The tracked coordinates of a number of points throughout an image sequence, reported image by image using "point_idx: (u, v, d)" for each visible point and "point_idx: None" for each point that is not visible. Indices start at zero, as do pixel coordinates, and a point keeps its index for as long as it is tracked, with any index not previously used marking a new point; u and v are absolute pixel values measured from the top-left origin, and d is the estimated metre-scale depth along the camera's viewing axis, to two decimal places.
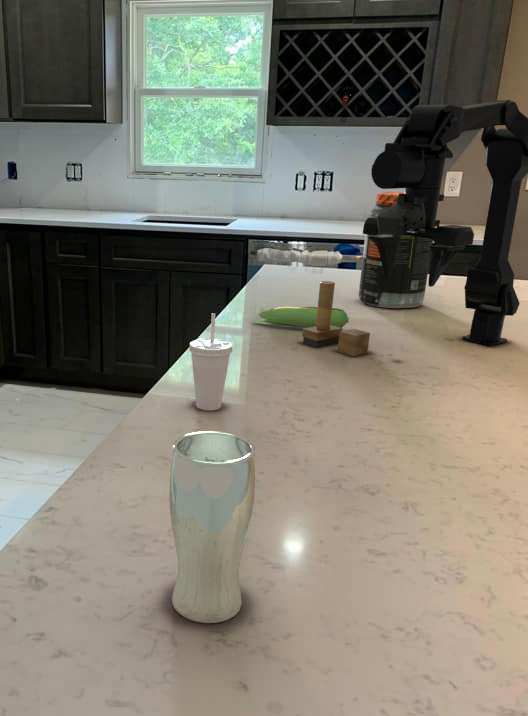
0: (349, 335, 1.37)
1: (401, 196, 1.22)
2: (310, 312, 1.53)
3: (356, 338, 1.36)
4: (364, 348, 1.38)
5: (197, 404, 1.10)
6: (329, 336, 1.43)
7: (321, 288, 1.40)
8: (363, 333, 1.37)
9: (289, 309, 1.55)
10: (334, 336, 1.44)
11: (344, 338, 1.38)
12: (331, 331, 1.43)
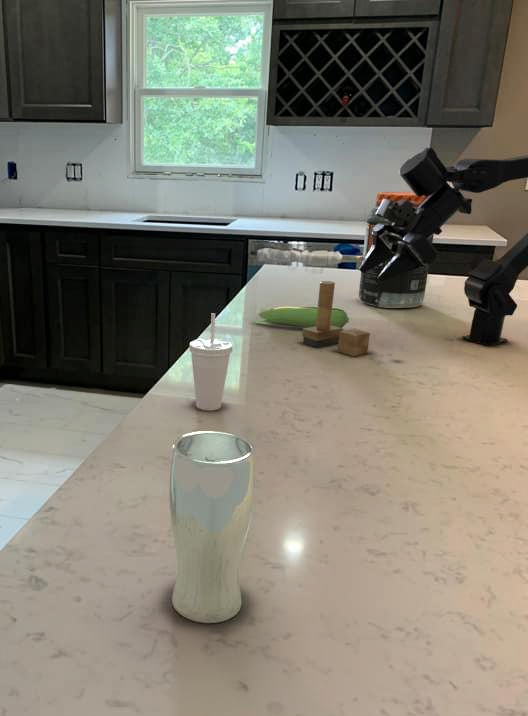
0: (349, 335, 1.37)
1: (412, 207, 1.38)
2: (310, 312, 1.53)
3: (356, 338, 1.36)
4: (364, 348, 1.38)
5: (197, 404, 1.10)
6: (329, 336, 1.43)
7: (321, 288, 1.40)
8: (363, 333, 1.37)
9: (289, 309, 1.55)
10: (334, 336, 1.44)
11: (344, 338, 1.38)
12: (331, 331, 1.43)
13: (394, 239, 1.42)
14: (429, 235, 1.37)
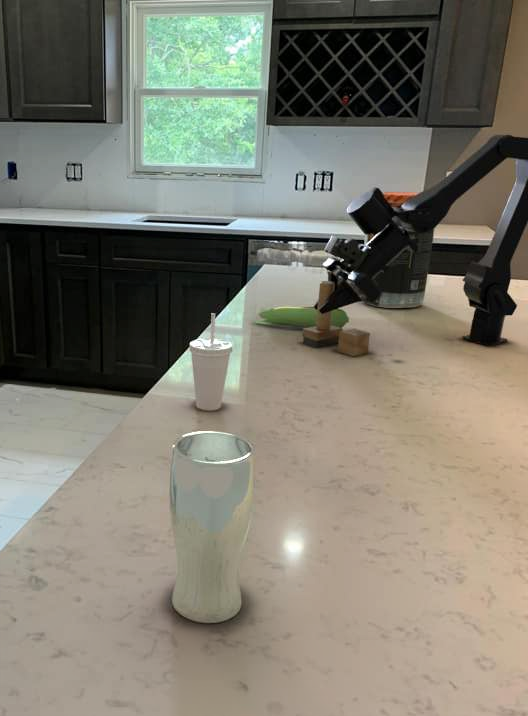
0: (349, 335, 1.37)
1: (361, 245, 1.40)
2: (310, 312, 1.53)
3: (356, 338, 1.36)
4: (364, 348, 1.38)
5: (197, 404, 1.10)
6: (329, 336, 1.43)
7: (321, 288, 1.40)
8: (363, 333, 1.37)
9: (289, 309, 1.55)
10: (334, 336, 1.44)
11: (344, 338, 1.38)
12: (331, 331, 1.43)
13: None
14: (376, 273, 1.39)
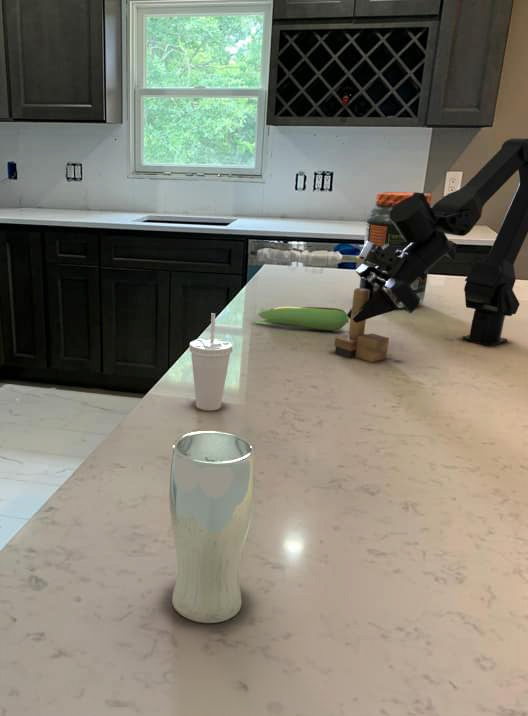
0: (367, 340, 1.33)
1: (397, 250, 1.34)
2: (310, 312, 1.53)
3: (374, 343, 1.32)
4: (383, 353, 1.35)
5: (197, 404, 1.10)
6: None
7: (355, 296, 1.34)
8: (382, 338, 1.34)
9: (289, 309, 1.55)
10: None
11: (362, 343, 1.34)
12: None
13: (384, 285, 1.35)
14: (413, 280, 1.32)
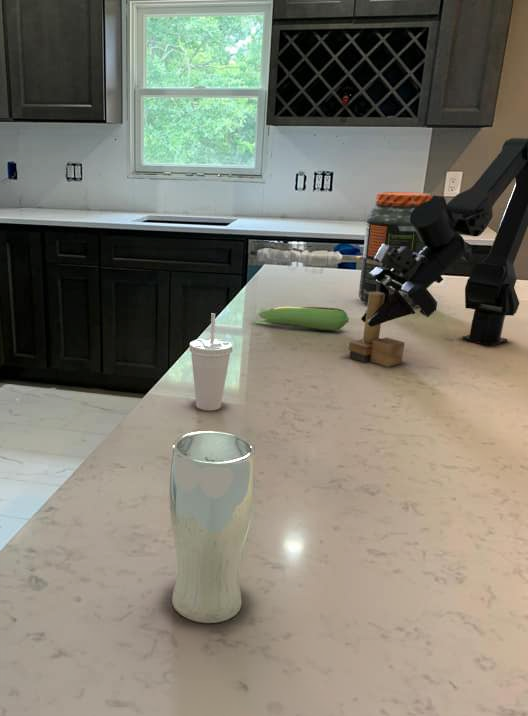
0: (383, 345, 1.31)
1: (413, 253, 1.31)
2: (310, 312, 1.53)
3: (390, 347, 1.30)
4: (398, 358, 1.32)
5: (197, 404, 1.10)
6: None
7: (370, 299, 1.32)
8: (397, 342, 1.31)
9: (289, 309, 1.55)
10: None
11: (377, 347, 1.32)
12: None
13: (399, 288, 1.32)
14: (429, 283, 1.30)
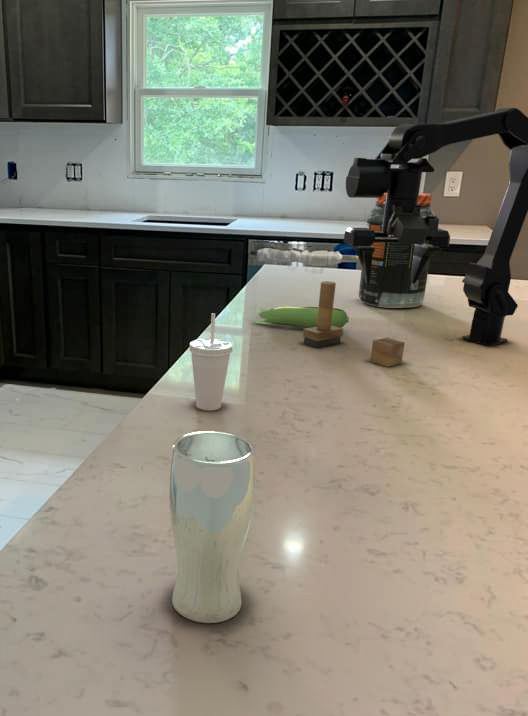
0: (383, 345, 1.31)
1: (399, 207, 1.32)
2: (310, 312, 1.53)
3: (390, 347, 1.30)
4: (398, 358, 1.32)
5: (197, 404, 1.10)
6: (330, 336, 1.43)
7: (322, 288, 1.40)
8: (397, 342, 1.31)
9: (289, 309, 1.55)
10: (335, 336, 1.44)
11: (377, 347, 1.32)
12: (332, 331, 1.43)
13: (381, 238, 1.37)
14: None
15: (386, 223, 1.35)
